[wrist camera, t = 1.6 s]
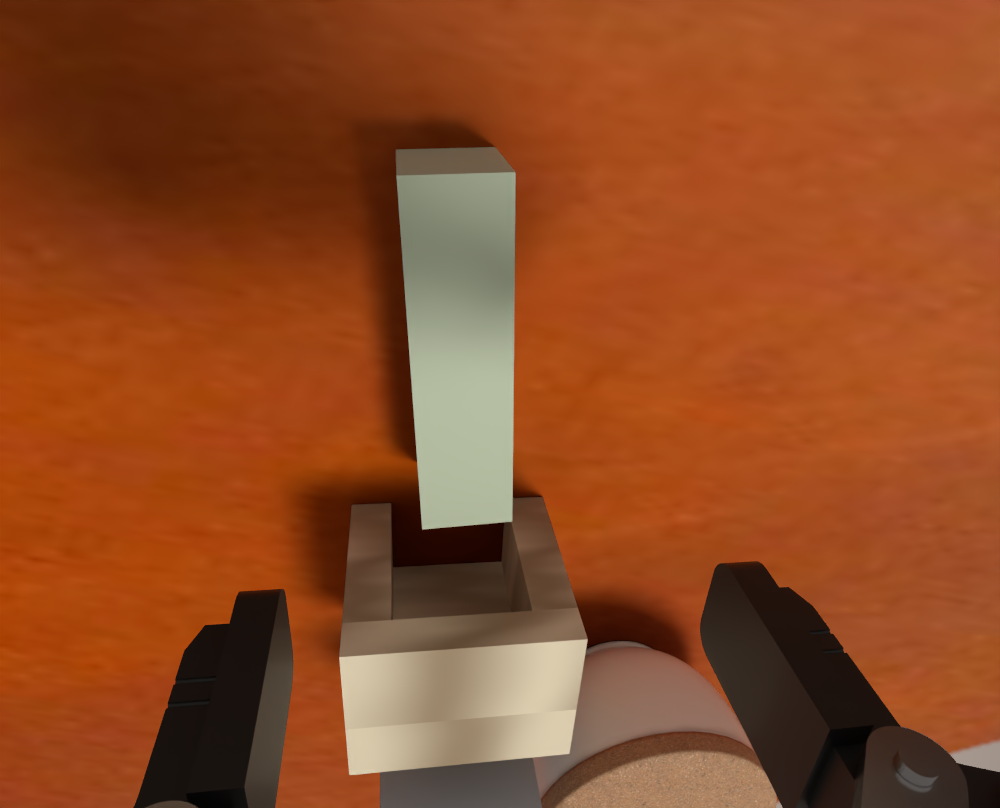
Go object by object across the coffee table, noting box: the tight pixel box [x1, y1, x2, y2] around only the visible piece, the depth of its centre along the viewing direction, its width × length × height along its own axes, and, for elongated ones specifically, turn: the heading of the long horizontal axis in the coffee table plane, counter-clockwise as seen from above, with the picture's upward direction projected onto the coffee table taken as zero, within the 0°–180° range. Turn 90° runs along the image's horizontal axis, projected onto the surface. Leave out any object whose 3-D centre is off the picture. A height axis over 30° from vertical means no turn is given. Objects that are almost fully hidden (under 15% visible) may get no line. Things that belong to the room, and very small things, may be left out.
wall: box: [380, 757, 542, 808], centre depth 29 cm, size 6×2×10 cm, turn 87°
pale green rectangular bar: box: [396, 147, 516, 530], centre depth 23 cm, size 3×12×4 cm, turn 0°
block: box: [339, 497, 588, 775], centre depth 27 cm, size 8×6×8 cm
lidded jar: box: [533, 641, 777, 808], centre depth 32 cm, size 11×11×9 cm
